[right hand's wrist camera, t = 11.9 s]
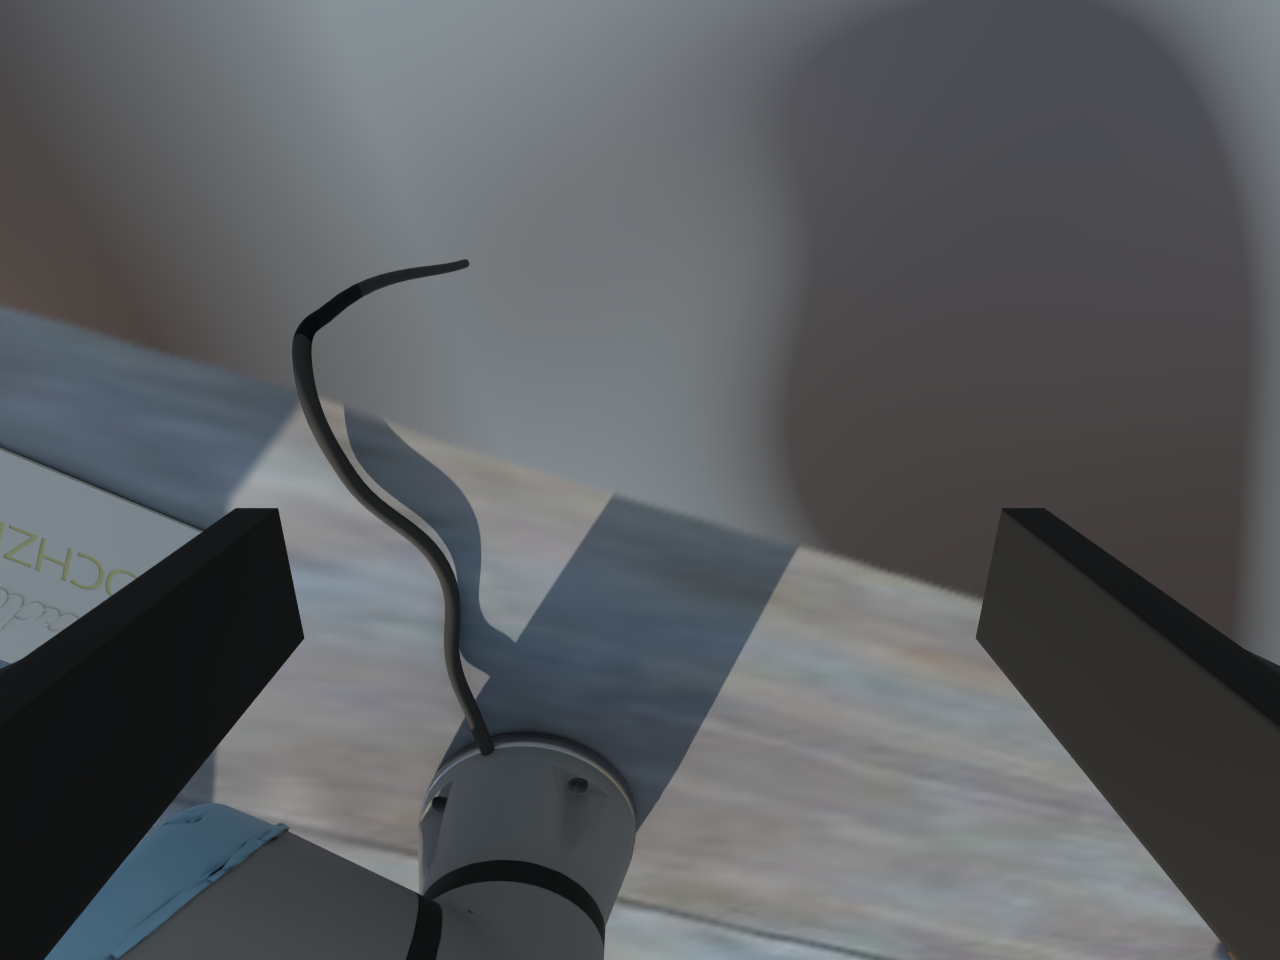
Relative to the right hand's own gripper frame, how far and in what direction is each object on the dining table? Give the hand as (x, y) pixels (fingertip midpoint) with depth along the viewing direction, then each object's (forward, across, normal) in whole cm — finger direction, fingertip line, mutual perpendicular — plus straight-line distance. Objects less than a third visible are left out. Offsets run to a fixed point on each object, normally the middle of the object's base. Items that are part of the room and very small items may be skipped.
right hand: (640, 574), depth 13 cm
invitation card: (+27, -37, -15) cm, 48 cm away
